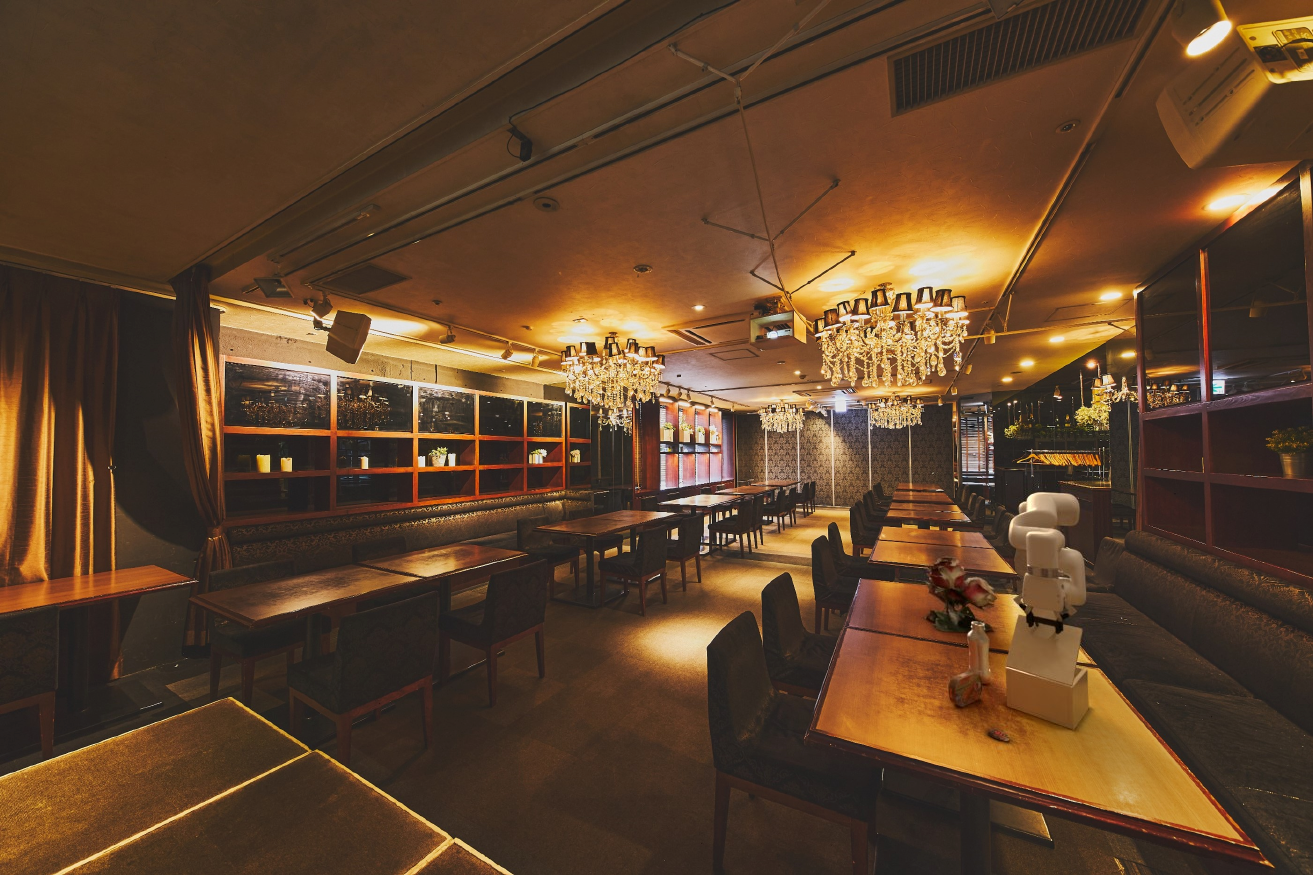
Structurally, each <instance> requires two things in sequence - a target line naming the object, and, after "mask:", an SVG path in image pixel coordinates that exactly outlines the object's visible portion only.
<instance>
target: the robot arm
mask: <svg viewBox="0 0 1313 875" xmlns="http://www.w3.org/2000/svg"><path fill="white" fill-rule="evenodd" d="M1080 508H1081V507H1080V502H1079V500H1078V499H1077V497H1075V496H1074V495H1073V494H1071V493H1060V492H1059V493H1058V492H1034V493H1032V494H1030V495H1029V496H1028V497H1027V498H1026V501H1023V502H1021V503H1020V504H1019V506H1018V513H1019V514H1018V515H1015V517H1013V518H1012V519H1011V521H1010V523H1009V527H1008V541H1009V544H1010V545H1011V546H1012V547H1013V548H1015V549H1018V550H1026V571H1027V572H1026V573H1024V577H1023V582H1022V592H1020V593H1019V594H1018V595H1016V596H1015V597H1014V598H1012V599H1013V602H1015V604H1016V605H1017V606H1018V607H1019V608H1020V609H1021V610H1022V611H1023V613H1024V614H1025V616H1026V623H1028V627H1032V626H1034V622H1033V621H1032V616H1033V615H1034V616H1038V617H1043V618H1047V619H1052V620H1056V621H1055V630H1056V634H1060V633H1061V631H1063V625H1064V621H1065V620H1067V619H1068V618H1070V617H1071V616H1073V615H1075V614H1076V613H1077V609H1075V608H1074V606H1083V605H1085V604H1086V601H1087V586H1086V585H1087V583H1086V568H1085V567H1086V566H1085V560H1084V557H1083V555H1082V553H1081V552H1080V551H1078V550H1076V549H1072V548H1065V546H1066V536H1065V535H1064V534H1063V533H1062V532H1061V531H1060V530H1059V529H1055V528H1054V527H1056V526H1062V527H1063V526H1065V527H1073V526H1076V525H1077V524H1078V523H1079V520H1080ZM1065 575H1066V576H1068V577H1065ZM1065 609H1066V610H1067V611H1066V612H1064V613H1063V611H1064V610H1065Z"/></svg>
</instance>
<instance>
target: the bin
mask: <svg viewBox="0 0 1313 875" xmlns="http://www.w3.org/2000/svg"><path fill="white" fill-rule="evenodd" d="M1088 674H1089V673H1088V669H1087V668H1083V667H1081V666H1077V665H1076V670H1075V676H1074V681H1073V687H1072V686H1068V685H1065V684H1062V683H1058V682H1055V681H1052V680H1048V679H1045V678H1042V677H1038V676H1035V675H1032V674H1029V673H1025V672H1022V671H1019V670H1015V669H1012V668H1009V667H1006V666H1005V687H1006V688H1005V690H1006V707H1008V708H1011V709H1013V710H1017V711H1020V712H1023V713H1025V714H1027V715H1031V716H1034V717H1036V718H1040V719H1041V720H1045V721H1047V722H1050V723H1053V724H1055V725H1058V726H1060V727H1064V728H1067V729H1070V730H1072V731H1074V730H1075V729H1076V727H1077V726H1078V725H1079V723H1080V722H1081V721H1082V719H1083V718H1084V716H1085V714H1086V713H1087V712H1088V711H1089V709H1090V703H1089V701H1090V700H1089V699H1090V698H1089V676H1088Z"/></svg>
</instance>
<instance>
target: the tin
mask: <svg viewBox="0 0 1313 875" xmlns="http://www.w3.org/2000/svg"><path fill="white" fill-rule="evenodd" d="M947 686H948V687H947V689H948V690H947V692H948V699H949V701H950V702H951V703H953V704H954V705H957V706H959V707H961V708H964V707H967V706H968V705H970V704H972V703H975V702H977V701H979V699H980V698H981V696H982V695H983V694H982V693H983V687H984V686H983V684H982V680H981V677H980V676H979V675H978V674H977V673H973V672H969V671H968V670H967V671H964V672H962V673H960V674H957V675H955V676H953V677H951V679H950V680H949V682H948V685H947Z"/></svg>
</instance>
